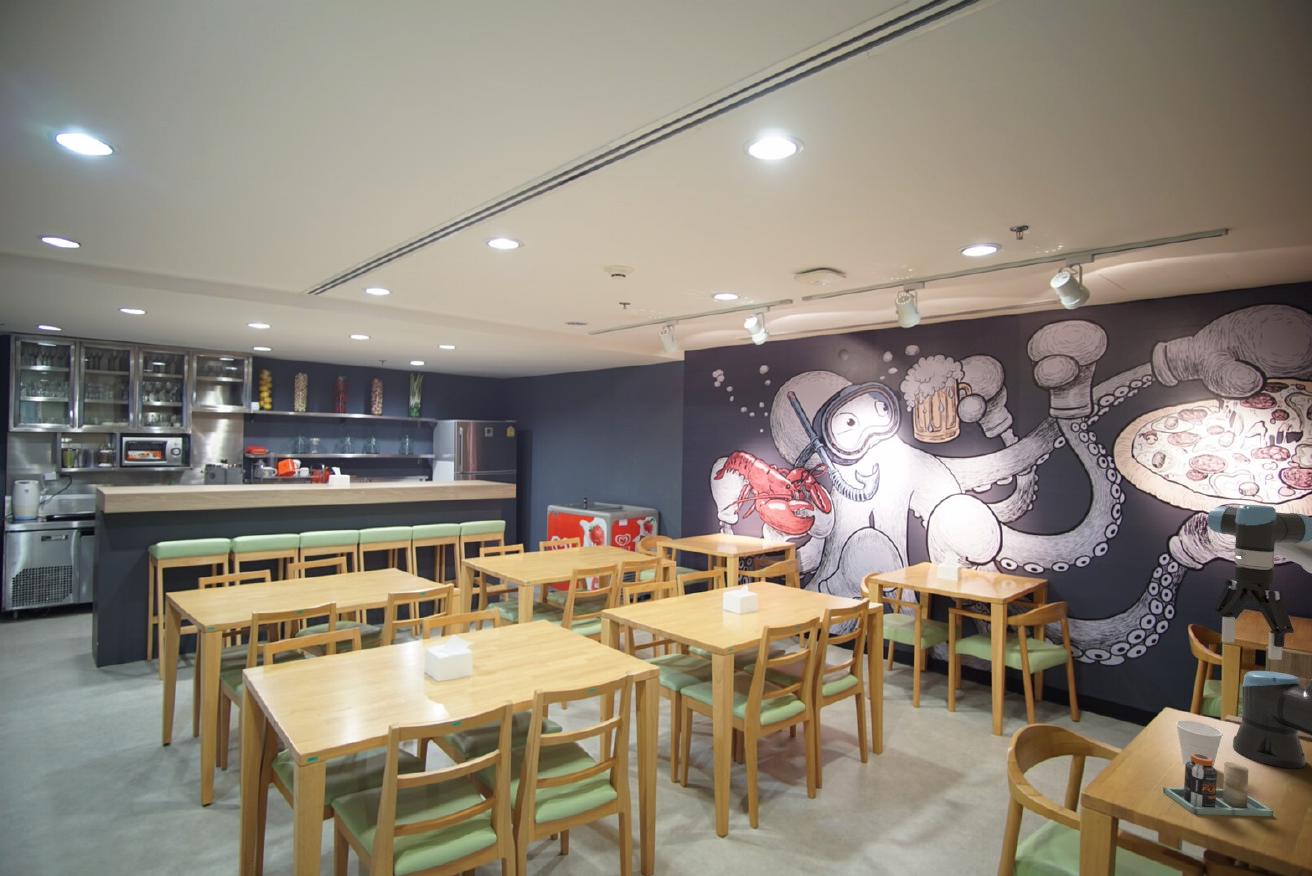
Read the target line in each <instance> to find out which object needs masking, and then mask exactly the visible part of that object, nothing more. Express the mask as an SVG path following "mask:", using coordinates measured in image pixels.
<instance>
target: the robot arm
mask: <svg viewBox="0 0 1312 876" xmlns="http://www.w3.org/2000/svg"><path fill="white" fill-rule="evenodd" d="M1206 522H1207V526H1208V527H1209V529H1210V530H1211V531H1213V532H1215V533H1218V534H1222V535H1230V536H1233V537H1234V538H1235V544H1234V563H1235V565H1234V566H1233V579H1226V580H1225V583H1224V588H1223V590H1222V592H1221V594H1220V596H1219V598H1218V600H1217V602H1216V604H1215V606H1214V608H1213V609H1214V612H1216V613H1218V614H1219V616H1220V627H1221V642H1222V643H1235V637H1236V636H1235V634H1236V632H1235V631H1236V617H1235V614H1236V613H1237V611H1239V609H1240V608H1241V607H1243V605H1244V604H1245V603H1249V604H1250V605H1251V604H1252V605H1254V606H1255V607H1256V608H1257V609H1259V611H1260V612H1261V614H1262V615H1263V617H1264V620H1265V622H1266V623H1267V625H1268V627H1270V631H1268V649H1267V650H1268V651H1267V658H1268V660H1272V661H1273V660H1277V661H1279V660H1280V661H1281V660H1282V659H1283V648H1285V647H1284V646H1285V636H1286V634H1293V633H1294V631H1295V629H1294V627H1293V625H1292V622H1291V619H1290V617H1289V614H1288V611H1287V609H1286V606H1285V603H1284V600H1283V597H1284V595H1283V592H1282V591H1281V590H1280V591H1279V590H1271V589H1270V586H1271V585H1272V584H1273V583H1274V570H1273V569H1272V568H1274V567H1275V555H1277V556H1279V557H1282V558H1284V559H1287V560H1289V561H1290V562H1293V563H1295V564H1298V565H1300V566H1301V568H1303V570H1305V571H1306V572H1307V573H1310V574H1312V518H1311V517H1310V516H1308V515H1306V514H1303V513H1297V512H1290V513H1288V512H1287V513H1286V512H1278V511H1277V510H1276V508H1275V507H1274V506H1270V505H1261V504H1260V505H1259V504H1240V505H1239V506H1237V507H1232V506H1219V505H1218V506H1215V507H1213V508H1212V509H1210V511H1209V512H1208V515H1207V518H1206ZM1242 683H1243V684H1242V685H1241V686H1242V707H1241V708H1242V710H1241V712H1242V713H1241V714H1242V715H1241V723H1240V725H1239V728H1238V730H1237V731H1236V734H1235V736H1234V737H1233V739H1232V748H1233V750H1234V751H1236V752H1237V753H1238V754H1240V755H1242V756H1244V757H1246V758H1248V759H1249V760H1250V759H1251V760H1253V761H1256V762H1259V763H1262V764H1265V765H1269V766H1274V767H1279V768H1285V769H1302V768H1305V766H1306V755H1305V753H1304V750H1303V747H1302V744H1301V741H1300V737H1299V735H1298V734H1299V733H1298V732H1300V733H1304V734H1307V735H1309V736H1312V678H1311V679H1310V681H1309V683H1308V685H1307V687H1306V686H1304V685H1300V684H1301V681H1300V678H1299V677H1298V676H1296V675H1293V674H1288V673H1284V672H1278V671H1277V672H1276V671H1270V670H1251V671H1248V672H1246V673H1245V674H1244V676H1243V682H1242Z"/></svg>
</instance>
